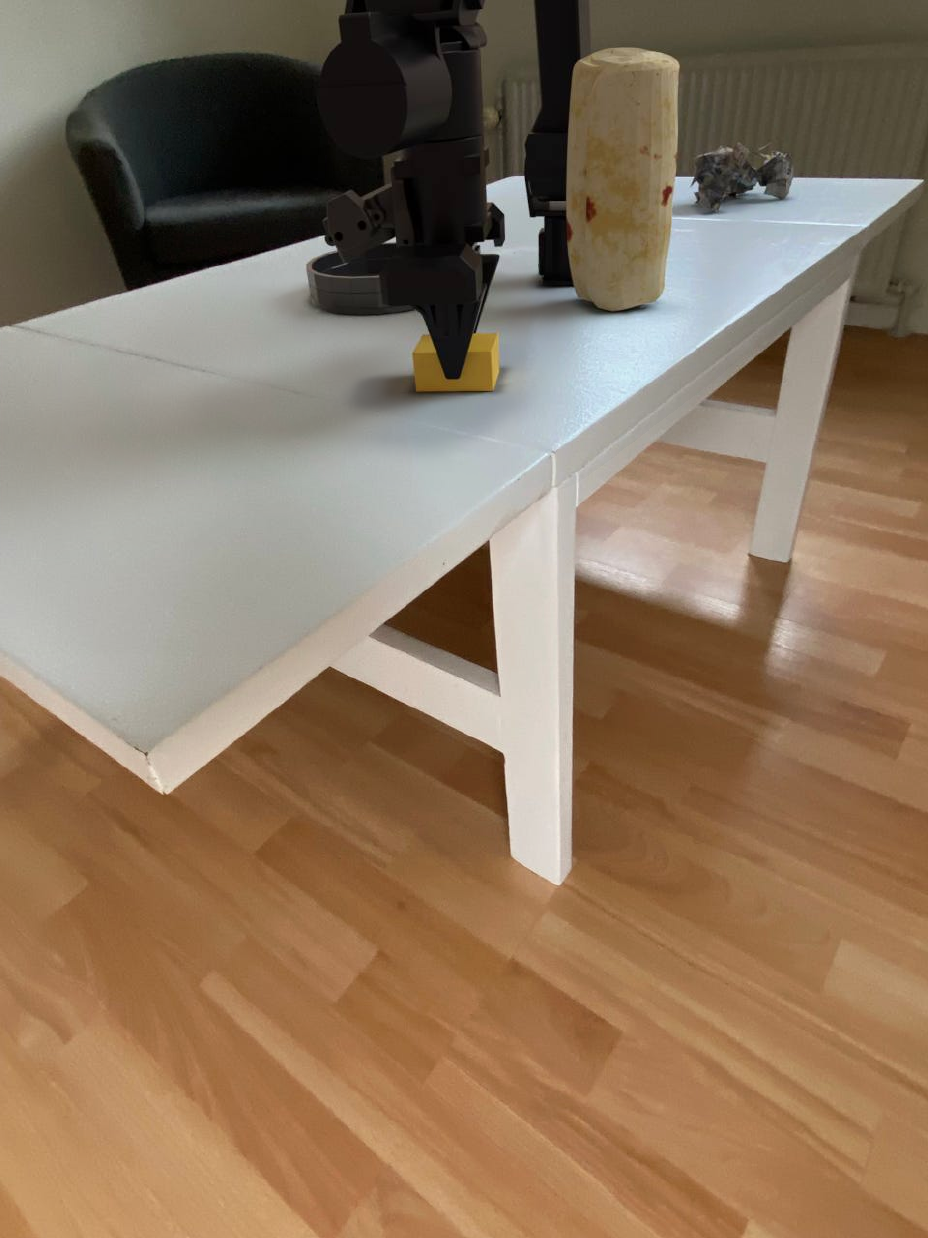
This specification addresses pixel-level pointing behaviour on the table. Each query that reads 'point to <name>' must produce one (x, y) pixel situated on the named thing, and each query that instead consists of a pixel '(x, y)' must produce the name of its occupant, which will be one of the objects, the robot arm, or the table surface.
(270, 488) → the table surface
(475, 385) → the sponge
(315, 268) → the pan
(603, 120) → the food model
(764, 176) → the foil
